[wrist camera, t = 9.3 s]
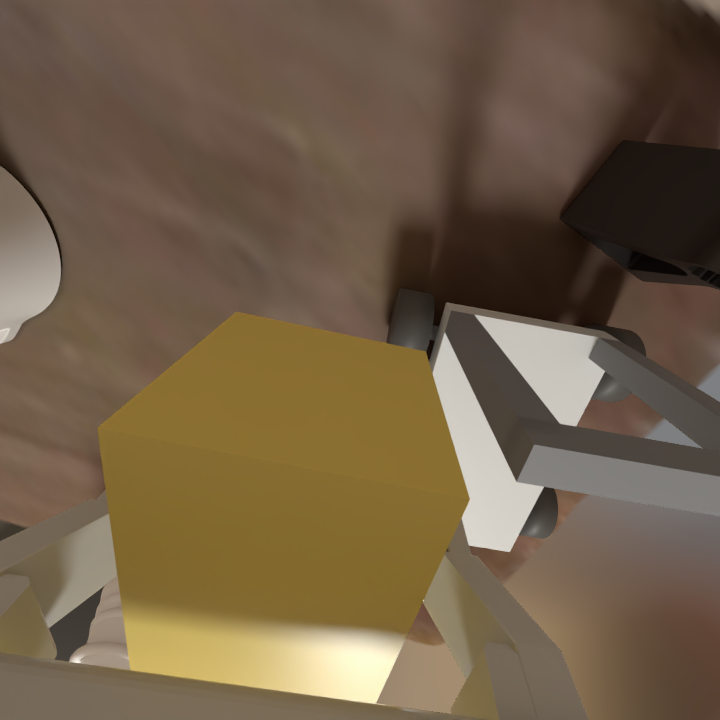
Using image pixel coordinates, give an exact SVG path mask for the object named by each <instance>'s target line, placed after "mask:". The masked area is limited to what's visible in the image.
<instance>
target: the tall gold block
mask: <svg viewBox="0 0 720 720" xmlns="http://www.w3.org/2000/svg"><path fill="white" fill-rule="evenodd" d="M97 430H98V437H99V445H100V452H101V459H102V467H103V474H104V481H105V489H106V496H107V503H108V510H109V518H110V525H111V532H112V540H113V547H114V554H115V562H116V569H117V576H118V584H119V591H120V598H121V605H122V613H123V620H124V627H125V635H126V642H127V649H128V657H129V664H130V670H133V671H140V672H148V673H155V674H162V675H170V676H177V677H184V678H192V679H199V680H206V681H214V682H221V683H228V684H236V685H243V686H250V687H258V688H265V689H272V690H279V691H287V692H294V693H301V694H309V695H316V696H323V697H331V698H338V699H345V700H352V701H360V702H367V703H374V704H376V702H377V700H378V697H379V695H380V693H381V691H382V689H383V687H384V684H385V682H386V680H387V678H388V676H389V674H390V672H391V669H392V667H393V665H394V663H395V661H396V659H397V656H398V654H399V652H400V650H401V648H402V646H403V643H404V641H405V639H406V637H407V635H408V633H409V630H410V628H411V626H412V624H413V622H414V620H415V617H416V615H417V613H418V611H419V609H420V607H421V605H422V602H423V600H424V598H425V596H426V594H427V592H428V589H429V587H430V585H431V583H432V581H433V579H434V576H435V574H436V572H437V570H438V568H439V566H440V563H441V561H442V559H443V557H444V555H445V553H446V550H447V548H448V546H449V544H450V542H451V540H452V538H453V535H454V533H455V531H456V529H457V527H458V525H459V522H460V520H461V518H462V516H463V514H464V512H465V509H466V507H467V505H468V503H469V501H470V497H469V494H468V491H467V487H466V484H465V481H464V477H463V474H462V471H461V467H460V464H459V461H458V457H457V454H456V451H455V447H454V444H453V441H452V437H451V434H450V431H449V427H448V424H447V421H446V417H445V414H444V411H443V407H442V404H441V401H440V397H439V394H438V391H437V387H436V384H435V380H434V377H433V374H432V370H431V367H430V364H429V360H428V357H427V354H426V351H421V350H416V349H412V348H407V347H402V346H397V345H393V344H388V343H383V342H378V341H374V340H369V339H364V338H359V337H354V336H350V335H345V334H340V333H335V332H331V331H326V330H321V329H316V328H312V327H307V326H302V325H297V324H292V323H288V322H283V321H278V320H273V319H269V318H264V317H259V316H254V315H250V314H245V313H240V312H236V313H234V314H233V315H232V316H231V317H230V318H228V319H227V320H226V321H225V322H224V323H222V324H221V325H220V326H219V327H218V328H216V329H215V330H214V331H213V332H212V333H210V334H209V335H208V336H207V337H206V338H204V339H203V340H202V341H201V342H200V343H198V344H197V345H196V346H195V347H194V348H192V349H191V350H190V351H189V352H188V353H186V354H185V355H184V356H183V357H182V358H180V359H179V360H178V361H177V362H176V363H174V364H173V365H172V366H171V367H170V368H168V369H167V370H166V371H165V372H164V373H162V374H161V375H160V376H159V377H158V378H156V379H155V380H154V381H153V382H152V383H150V384H149V385H148V386H147V387H146V388H144V389H143V390H142V391H141V392H140V393H138V394H137V395H136V396H135V397H134V398H132V399H131V400H130V401H129V402H128V403H126V404H125V405H124V406H123V407H122V408H120V409H119V410H118V411H117V412H116V413H114V414H113V415H112V416H111V417H110V418H108V419H107V420H106V421H105V422H104V423H102V424H101V425H100V426H99V427H98V428H97Z"/></svg>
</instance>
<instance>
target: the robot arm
mask: <svg viewBox="0 0 720 720" xmlns="http://www.w3.org/2000/svg"><path fill="white" fill-rule="evenodd" d="M60 277H61V262H60V255H59V250H58V246H57V243H56V240H55V237H54V234H53V232H52V230H51V227H50V225H49V223H48V221H47V219H46V218H45V216H44V214H43V212H42V211H41V209H40V208H39V206H38V205H37V203H36V202H35V200H34V199H33V198H32V197H31V195H30V194H29V193H28V192H27V190H26V189H25V188H24V187H23V186H22V185H21V184H20V183H19V182H18V181H17V180H16V179H15V178H14V177H13V176H12V175H11V174H10V173H9V172H8V171H6V170H5V169H4V168H3V167H1V166H0V344H1V343H4V342H8V341H11V340H12V339H13V338H14V337H15V336H16V334H17V332H18V331H19V329H20V327H21V325H22V323H23V322H24V321H26V320H28V319H29V318H31V317H33V316H35V315H37V314H39V313H41V312H42V311H43V310H45V309H46V308H47V307H48V306H49V305H50V303H51V302H52V301H53V299H54V297H55V295H56V293H57V291H58V288H59V284H60ZM116 576H117V569H116V562H115V554H114V547H113V540H112V532H111V525H110V518H109V510H108V503H107V496H106V490H105V491H104V492H103V493H102V494H101V495H100V496H99V497H98V498H97V499H96V500H90V499H89V500H87V501H85V502H83V503H81V504H78V505H76V506H74V507H72V508H70V509H68V510H66V511H64V512H61V513H59V514H57V515H55V516H53V517H51V518H49V519H47V520H44V521H42V522H40V523H38V524H36V525H34V526H32V527H30V528H27V529H25V530H23V531H21V532H19V533H17V534H15V535H13V536H11V537H8V538H6V539H4V540H2V541H0V720H588V717H587V714H586V712H585V709H584V707H583V704H582V702H581V699H580V697H579V694H578V692H577V689H576V687H575V684H574V682H573V679H572V677H571V674H570V672H569V669H568V667H567V664H566V662H565V659H564V657H563V654H562V652H561V650H560V649H559V648H558V647H557V646H556V644H555V643H554V642H553V641H552V640H551V639H550V638H549V637H548V635H547V634H546V633H545V632H544V631H543V630H542V629H541V627H540V626H539V625H538V624H537V623H536V622H535V621H534V620H533V619H532V617H531V616H530V615H529V614H528V613H527V612H526V611H525V610H524V608H523V607H522V606H521V605H520V604H519V603H518V602H517V600H516V599H515V598H514V597H513V596H512V595H511V594H510V593H509V591H508V590H507V589H506V588H505V587H504V586H503V585H502V584H501V582H500V581H499V580H498V579H497V578H496V577H495V576H494V575H493V573H492V572H491V571H490V570H489V569H488V568H487V567H486V566H485V564H484V563H483V562H482V561H481V560H480V559H479V558H478V557H477V556H472V555H471V552H470V548H469V544H468V540H467V537H466V533H465V529H464V525H463V521H462V518H461V520H460V522H459V525H458V527H457V529H456V531H455V533H454V535H453V538H452V540H451V542H450V544H449V546H448V548H447V550H446V553H445V555H444V557H443V559H442V561H441V563H440V566H439V568H438V570H437V572H436V574H435V576H434V579H433V581H432V583H431V585H430V587H429V589H428V592H427V594H426V596H425V598H424V600H423V601H424V602H423V603H424V605H425V607H426V609H427V610H428V612H429V614H430V616H431V617H432V619H433V621H434V623H435V625H436V626H437V628H438V630H439V632H440V633H441V635H442V637H443V639H444V641H445V642H446V644H447V646H448V648H449V649H450V651H451V653H452V655H453V656H454V658H455V660H456V662H457V664H458V665H459V667H460V669H461V671H462V672H463V674H464V676H465V678H466V682H465V684H464V686H463V688H462V689H461V691H460V693H459V695H458V697H457V698H456V700H455V702H454V704H453V706H452V708H451V714H447V713H440V712H433V711H425V710H418V709H410V708H403V707H395V706H389V705H382V704H374V703H367V702H360V701H352V700H345V699H338V698H331V697H323V696H316V695H309V694H301V693H294V692H287V691H279V690H272V689H265V688H258V687H250V686H243V685H236V684H228V683H221V682H214V681H206V680H199V679H192V678H184V677H177V676H170V675H162V674H155V673H148V672H140V671H133V670H126V669H118V668H111V667H104V666H96V665H89V664H82V663H74V662H66V661H59V660H54V658H55V657H56V655H57V651H56V646H55V643H54V641H53V638H52V636H51V633H50V631H49V627H51V626H52V625H53V624H55V623H56V622H57V621H59V620H60V619H61V618H62V617H64V616H65V615H66V614H68V613H69V612H70V611H72V610H73V609H74V608H76V607H77V606H78V605H79V604H81V603H82V602H84V601H85V600H86V599H87V598H89V597H90V596H91V595H93V594H94V593H95V592H97V591H98V590H99V589H101V588H102V587H103V586H104V585H106V584H107V583H108V582H110V581H111V580H112V579H114V578H115V577H116Z"/></svg>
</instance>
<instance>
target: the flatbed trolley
mask: <svg viewBox="0 0 720 720" xmlns="http://www.w3.org/2000/svg"><path fill="white" fill-rule="evenodd" d="M434 310H435V301H434V296H433V294H430V293H425V292H419V291H414V290H409V289H403V288H400V289H399V291H398V293H397V296H396V299H395V303H394V307H393V311H392V315H391V320H390V325H389V331H388V337H387V343H388V344H393V345H397V346H402V347H407V348H412V349H416V350H421V351H426V352H427V348H428V345H429V341H430V340H433V341H435V343H434V346H433V350H432V353H431V357H430V360H429V364H430V367H431V370H432V374H433V377H434V380H435V384H436V387H437V391H438V394H439V397H440V401H441V404H442V407H443V411H444V414H445V417H446V421H447V424H448V427H449V431H450V434H451V437H452V441H453V444H454V447H455V451H456V454H457V457H458V461H459V464H460V467H461V471H462V474H463V477H464V481H465V484H466V487H467V491H468V494H469V497H470V501H469V503H468V505H467V507H466V509H465V512H464V514H463V516H462V521H463V525H464V529H465V533H466V537H467V540H468V544H469V545H470V546H476V547H483V548H489V549H495V550H501V551H507V552H510V550H511V548H512V546H513V544H514V543H515V541H516V539H517V537H518V535H523V536H529V537H535V538H541V539H544V538H547V537H548V536H550V534H551V533H552V532H553V530H554V528H555V525H556V522H557V516H558V503H557V497H556V493H555V490H554V489H560V490H566V491H572V492H578V493H584V494H590V495H596V496H602V497H608V498H614V499H620V500H626V501H631V502H637V503H644V504H649V505H656V506H662V507H667V508H673V509H679V510H685V511H691V512H697V513H703V514H709V515H715V516H720V402H719V401H717V400H715V399H714V398H712V397H711V396H709V395H707V394H706V393H704V392H702V391H701V390H699V389H698V388H696V387H694V386H693V385H691V384H689V383H688V382H686V381H685V380H683V379H681V378H680V377H678V376H676V375H675V374H673V373H671V372H670V371H668V370H667V369H665V368H663V367H662V366H660V365H658V364H657V363H655V362H654V361H652V360H650V359H649V358H647V357H646V351H645V347H644V344H643V342H642V340H641V339H640V337H639V336H638V335H637V334H636V333H634V332H632V331H630V330H625V329H620V328H615V327H609V326H604V325H598V324H591V325H587V326H585V327H578V326H573V325H567V324H562V323H556V322H551V321H546V320H540V319H535V318H529V317H524V316H518V315H513V314H507V313H502V312H497V311H491V310H486V309H480V308H475V307H469V306H464V305H459V304H453V303H448V302H446V304H445V308H444V311H443V315H442V318H441V322H440V325H439V326H435V325H433V320H434ZM631 393H633V394H634V395H636V396H637V397H638V398H640V399H641V400H642V401H643V402H645V403H646V404H647V405H648V406H650V407H651V408H652V409H654V410H655V411H656V412H657V413H659V414H660V415H661V416H662V417H664V418H665V419H666V420H668V421H669V422H670V423H672V424H673V425H674V426H675V427H676V428H678V429H679V430H680V431H682V432H683V433H684V434H685V435H687V436H688V437H689V438H690V439H692V440H693V441H694V442H695V443H697V444H698V445H699V446H701V447H702V448H703V449H702V448H696V447H690V446H685V445H679V444H673V443H668V442H662V441H656V440H651V439H645V438H639V437H633V436H628V435H622V434H616V433H611V432H605V431H599V430H593V429H588V428H582V427H576V425H577V423H578V422H579V420H580V418H581V416H582V414H583V412H584V410H585V408H586V406H587V405H588V403H589V401H590V399H595V400H601V401H607V402H617V401H620V400H623V399H625V398H626V397H628V396H629V395H630V394H631Z"/></svg>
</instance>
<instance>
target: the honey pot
mask: <svg viewBox="0 0 720 720" xmlns="http://www.w3.org/2000/svg"><path fill="white" fill-rule="evenodd" d="M81 660H82V661H81ZM69 662H74V663H82V664H89V665H96V666H104V667H111V668H118V669H126V670H130V664H129V657H128V649H127V642H126V635H125V627H124V620H123V613H122V605H121V598H120V591H119V584H118V576H116V577H115V578H114V579H112V580H111V581H110V582H108V583H107V584H106V585H105V587H104V589H103V591H102V595H101V599H100V604H99V605H98V608H97V611H96V615H95V618H94V620H93V621H92V623H91V626H90V635H89V638H88V641H87V644H86V645H84V646H82V647H80V648H78V649H77V650H76V651H75V652H74V654H73V655H72V656H71V658H70V661H69Z"/></svg>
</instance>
